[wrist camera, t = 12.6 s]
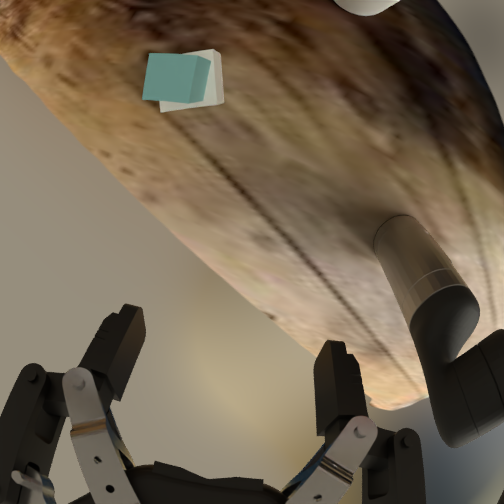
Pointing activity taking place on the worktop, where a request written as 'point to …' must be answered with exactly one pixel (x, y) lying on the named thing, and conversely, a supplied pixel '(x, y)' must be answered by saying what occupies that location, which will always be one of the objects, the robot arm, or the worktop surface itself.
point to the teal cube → (176, 78)
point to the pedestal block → (213, 86)
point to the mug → (365, 6)
